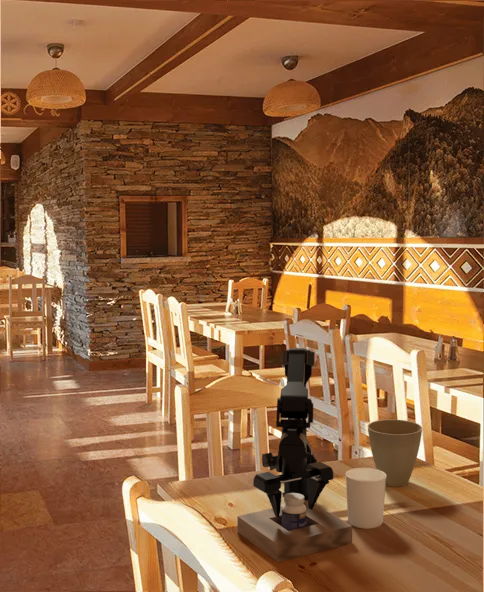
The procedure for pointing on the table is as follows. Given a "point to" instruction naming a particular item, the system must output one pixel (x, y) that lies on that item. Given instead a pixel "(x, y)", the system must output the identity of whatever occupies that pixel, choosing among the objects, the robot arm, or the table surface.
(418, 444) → the plant pot
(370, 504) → the candle holder
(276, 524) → the well block
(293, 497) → the pill bottle
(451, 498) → the table surface
